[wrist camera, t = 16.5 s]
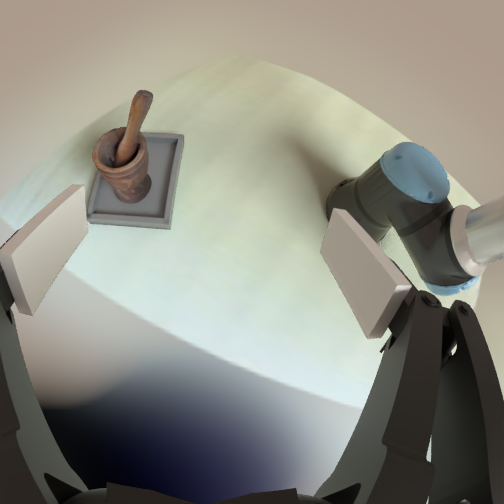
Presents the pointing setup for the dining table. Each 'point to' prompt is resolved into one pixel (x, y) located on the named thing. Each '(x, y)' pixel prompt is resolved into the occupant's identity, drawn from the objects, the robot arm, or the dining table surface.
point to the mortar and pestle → (126, 154)
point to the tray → (159, 197)
